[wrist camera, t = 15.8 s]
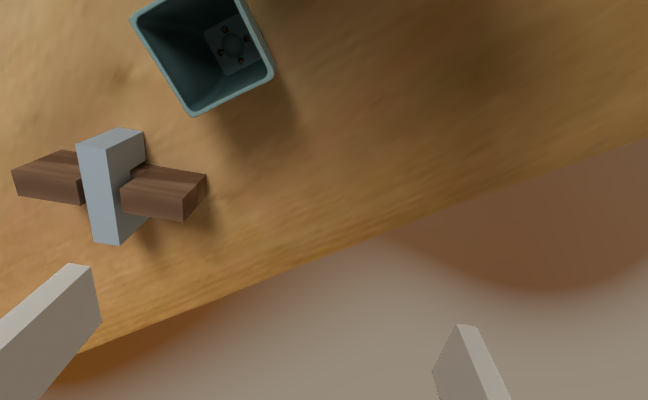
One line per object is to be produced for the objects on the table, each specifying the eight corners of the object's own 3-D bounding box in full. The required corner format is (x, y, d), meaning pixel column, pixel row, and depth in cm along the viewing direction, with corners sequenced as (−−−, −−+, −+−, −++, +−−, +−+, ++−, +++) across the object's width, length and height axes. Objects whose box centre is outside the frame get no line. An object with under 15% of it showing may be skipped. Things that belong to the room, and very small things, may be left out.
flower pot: (290, 68, 35) (276, 77, 27) (222, 102, 36) (190, 120, 28) (250, -21, 31) (219, -41, 23) (176, 22, 33) (125, 17, 25)
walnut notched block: (61, 149, 40) (10, 170, 33) (206, 174, 41) (182, 199, 34) (66, 171, 41) (18, 195, 35) (205, 195, 42) (183, 222, 36)
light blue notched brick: (117, 127, 38) (75, 144, 32) (143, 131, 38) (105, 149, 32) (128, 212, 44) (93, 241, 37) (150, 216, 44) (119, 245, 37)
